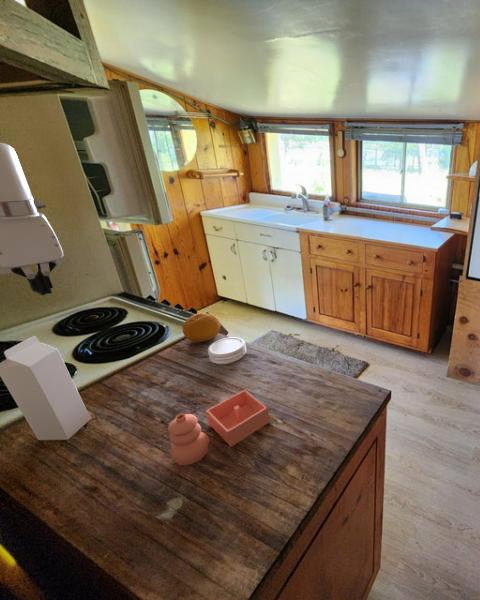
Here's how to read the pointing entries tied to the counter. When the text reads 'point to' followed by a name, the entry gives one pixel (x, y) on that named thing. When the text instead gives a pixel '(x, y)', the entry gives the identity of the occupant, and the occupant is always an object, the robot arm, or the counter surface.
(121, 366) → the counter surface
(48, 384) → the milk
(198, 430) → the pottery
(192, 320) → the fruit
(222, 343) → the white round flat stack
